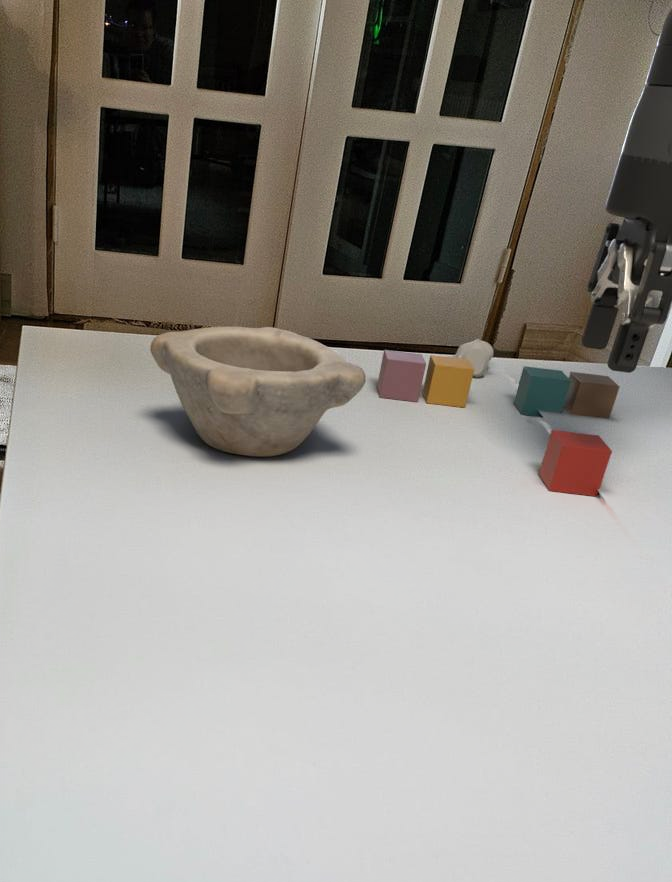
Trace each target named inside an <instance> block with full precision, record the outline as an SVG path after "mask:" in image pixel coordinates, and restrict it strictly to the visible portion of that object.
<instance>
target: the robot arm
mask: <svg viewBox="0 0 672 882" xmlns="http://www.w3.org/2000/svg"><path fill="white" fill-rule="evenodd" d="M645 79H646V80H645V82H644V84H645V85H644V86H643V89H642V91H641V94H640V96H639V99H638V101H637V103H636V106H635V108H634V110H633V113H632V116H631V119H630V122H629V125H628V128H627V132H626V135H625V137H624V142H623V145H622V148H621V152H620V155H619V158H618V162H617V165H616V167H615V171H614V175H613V179H612V182H611V185H610V188H609V192H608V196H607V199H606V202H605V207H604V208H605V211H606V212H607V213H608V214H610V215H612V216H616V217H619V218H623V220H622V223H619V222H618V223H614V222H609V223H607V225H606V227H605V230H604V234H603V237H602V241H601V244H600V248H599V250H598V253H597V255H596V259H595V262H594V264H593V269H592V271H591V275H590V279H589V281H588V283H587V292H588V293H591V294H590V302H591V303H593V304H591V308H590V311H589V314H588V317H587V321H586V324H585V327H584V330H583V334H582V337H581V341H580V342H581V345H582V346H583V347H585V348H586V349H592V350H593V349H594V350H604V349H605V348H607V347H608V344H609V341H610V338H611V334H612V331H613V328H614V325H615V322H616V318H617V316H618V313H619V310H620V308H618V306H620V305H621V304H622V306H621V307H622V310H621V317H620V321H621V322H620V323H619V326H618V329H617V332H616V336H615V338H614V341H613V344H612V347H611V351H610V353H609V357H608V359H607V362H606V363H607V365H606V366H607V367H608V369H610V370H611V371H614V372H620V373H628V374H630V373H633V372H634V371H635V370H636V369H637V366H638V363H639V360H640V357H641V354H642V351H643V348H644V345H645V343H646V341H647V340H646V339H647V337H648V333H649V330H650V329H653V328H654V327H655V326H656V325H660V326H661V325H662V326H663V325H664V324H665V323H666V320H667V318H668V314H669V312H670V308H671V305H672V8H671V9H670V10H669V11H668V13H667V15H666V16H665V18H664V21H663V24H662V26H661V30H660V33H659V35H658V39H657V42H656V47H655V49H654V53H653V56H652V59H651V62H650V66H649V68H648V73H647V75H646V78H645Z"/></svg>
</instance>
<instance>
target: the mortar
mask: <svg viewBox="0 0 672 882" xmlns="http://www.w3.org/2000/svg"><path fill="white" fill-rule="evenodd" d="M149 347H150V348H149V349H150V353H151V356H152V357H153V359H154V361H155V363H156V365H157V366H158V367H159V369H161V371H163V372H164V373H167V374H168V375H170V378H171V381H172V384H173V386H174V389H175V391H176V394H177V397H178V399H179V401H180V404H181V406H182V408H183V409H184V411H185V413H186V415H187V417H188V419H189V421H190V423H191V425H192V427H193V429H194V430H195V432H196V434H197V435H198V436H199V438H200V440H202V441H203V442H204V443H205V444H207V445H208V446H209V447H211V448H213V449H216V450H218V451H221V452H225V453H229V454H233V455H241V456H246V457H247V456H248V457H275V456H280V455H284V454H287V453H290V452H291V451H293V450H294V449H296V448H297V447H298V446H300V445H301V444H302V443H303V442H304V441H305V440H306V438H308V437H309V435H310V434H311V432H313V430H314V428H315V427H316V426H317V424H318V423H319V422H320V420H321V419H322V418H323V416H324V414H325V413H326V412H327V411H328V410H330V409H334V408H339V407H343V406H346V404H348V403H349V402H350V401H351V400H352V399H354V397H356V396H357V395H358V394H359V393H360V391H361V390H362V389H363V388H364V386H365V384H366V373H365V371H364V369H363V368H362V367H361V366H360V365H359V364H356V363H353V362H350V361H347V359H345V357H344V356H343V355H342V354H341V353H339V352H338V351H337V350H335V349H333V348H331V347H329V346H327V345H324V344H323V343H321V342H319V341H318V340H314V339H312V338H309V337H306V336H304V335H300V334H298V333H295V332H294V331H289V330H286V329H280V328H277V327H273V326H264V327H248V326H247V327H245V326H212V327H211V326H210V327H201V328H194V329H188V330H183V331H182V330H181V331H167V332H164V333H161V334H158V335H156V336H155V337H154V338H153V339H152V341H151V343H150V346H149Z"/></svg>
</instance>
